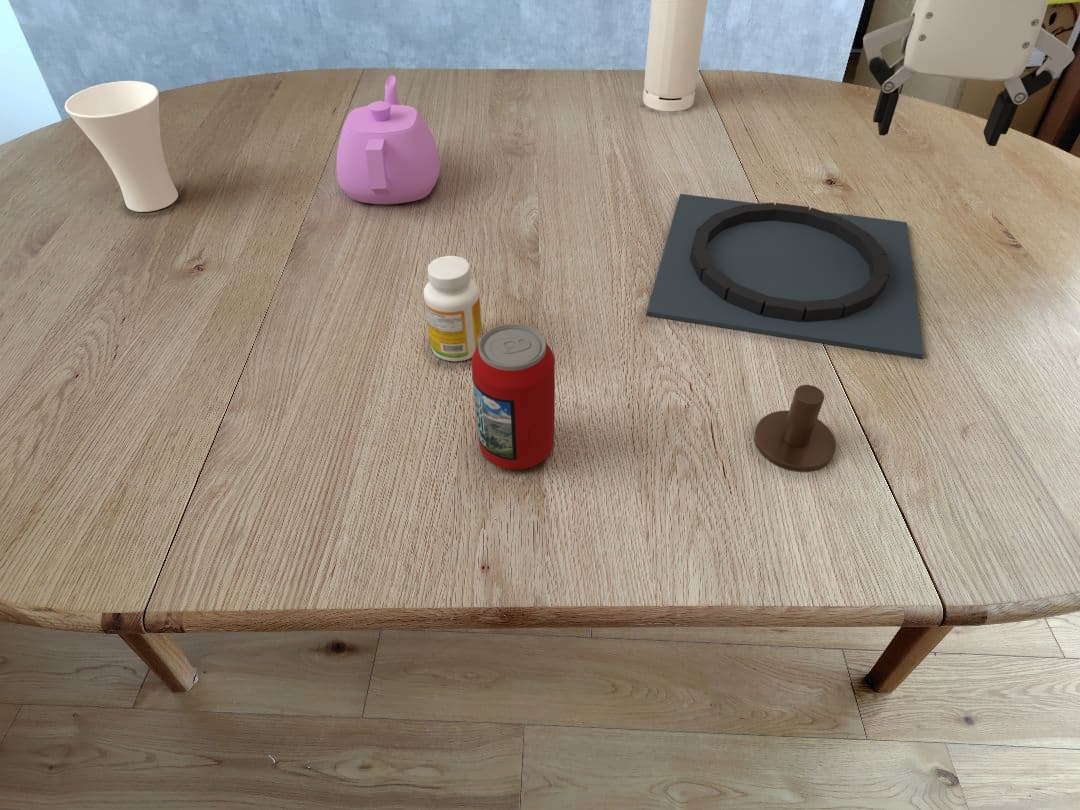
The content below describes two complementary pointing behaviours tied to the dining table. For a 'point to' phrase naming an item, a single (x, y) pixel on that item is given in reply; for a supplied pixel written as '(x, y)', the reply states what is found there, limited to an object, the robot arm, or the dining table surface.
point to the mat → (790, 278)
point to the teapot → (387, 152)
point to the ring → (781, 306)
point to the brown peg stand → (797, 434)
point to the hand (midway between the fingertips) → (934, 134)
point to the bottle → (673, 53)
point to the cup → (127, 139)
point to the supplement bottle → (452, 309)
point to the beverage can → (514, 396)
